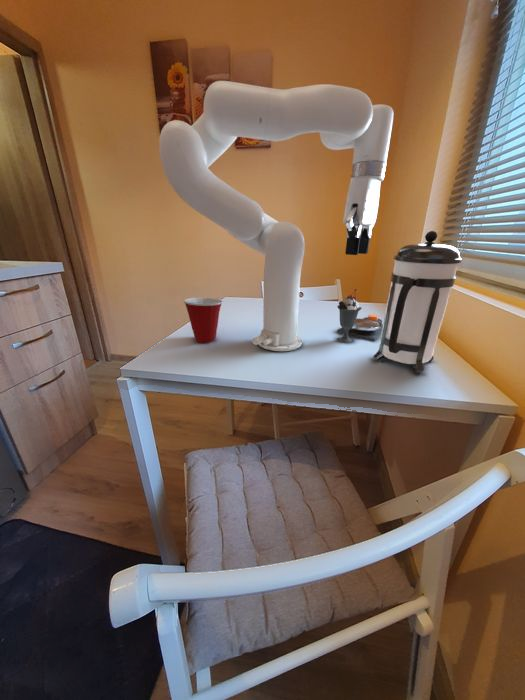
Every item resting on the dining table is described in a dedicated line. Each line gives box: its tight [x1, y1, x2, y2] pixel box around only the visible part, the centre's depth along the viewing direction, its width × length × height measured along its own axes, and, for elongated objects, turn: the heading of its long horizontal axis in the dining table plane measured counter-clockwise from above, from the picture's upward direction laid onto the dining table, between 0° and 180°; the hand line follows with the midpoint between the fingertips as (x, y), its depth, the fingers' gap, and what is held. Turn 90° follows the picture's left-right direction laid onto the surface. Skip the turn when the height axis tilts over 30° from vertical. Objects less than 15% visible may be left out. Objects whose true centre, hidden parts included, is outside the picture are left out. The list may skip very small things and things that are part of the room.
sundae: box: [335, 288, 362, 344], centre depth 80 cm, size 7×7×15 cm
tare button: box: [367, 314, 379, 321], centre depth 94 cm, size 3×3×2 cm
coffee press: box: [372, 230, 462, 374], centre depth 63 cm, size 17×16×30 cm
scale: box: [336, 316, 383, 342], centre depth 91 cm, size 16×12×2 cm
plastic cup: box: [183, 297, 224, 344], centre depth 79 cm, size 11×11×12 cm
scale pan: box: [352, 318, 380, 331], centre depth 88 cm, size 10×10×1 cm
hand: (356, 253), depth 73 cm, fingers open, 5 cm apart
